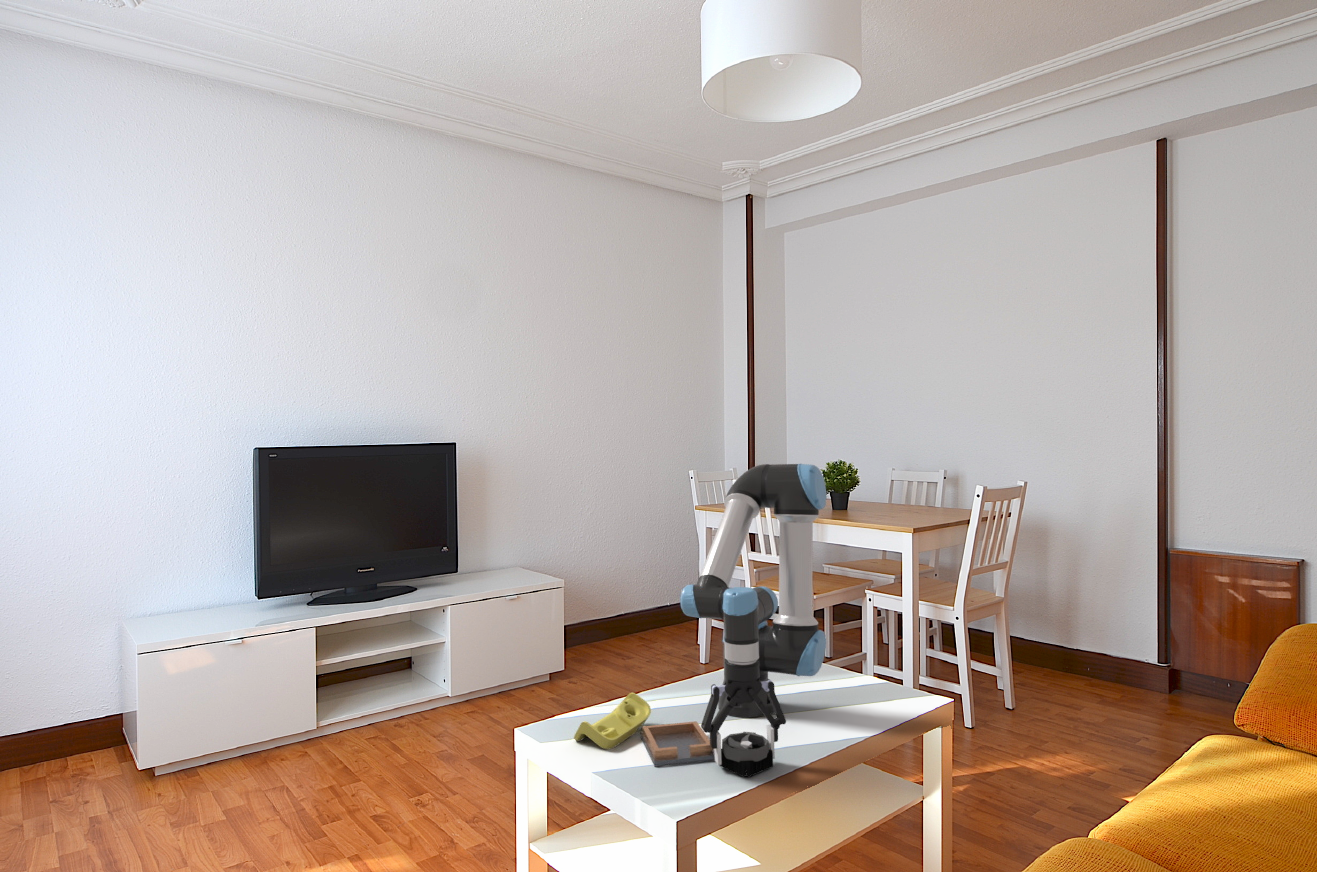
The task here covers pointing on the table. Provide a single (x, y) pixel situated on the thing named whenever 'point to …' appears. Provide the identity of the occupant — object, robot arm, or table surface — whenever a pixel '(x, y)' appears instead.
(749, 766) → the cpu cooler
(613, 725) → the plastic component
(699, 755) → the board
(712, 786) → the table surface
